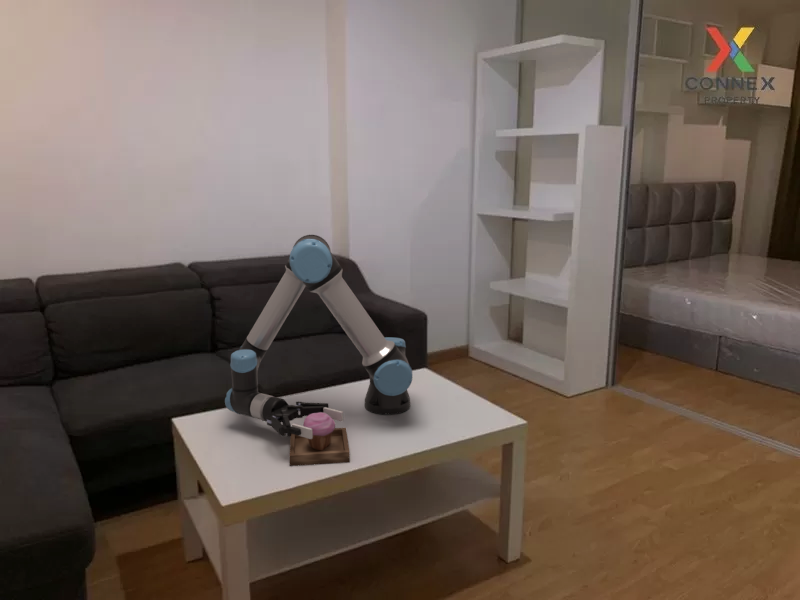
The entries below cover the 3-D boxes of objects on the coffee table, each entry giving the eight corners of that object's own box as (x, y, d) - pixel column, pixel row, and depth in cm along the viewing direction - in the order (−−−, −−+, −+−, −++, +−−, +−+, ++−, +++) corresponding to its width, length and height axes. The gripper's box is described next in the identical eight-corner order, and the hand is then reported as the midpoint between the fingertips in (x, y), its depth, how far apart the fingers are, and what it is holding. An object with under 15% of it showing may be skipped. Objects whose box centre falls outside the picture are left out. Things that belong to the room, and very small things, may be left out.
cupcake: (324, 456, 175) (323, 422, 173) (297, 450, 179) (296, 416, 176) (340, 443, 183) (340, 410, 181) (315, 437, 186) (314, 405, 184)
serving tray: (346, 436, 190) (345, 427, 189) (349, 462, 174) (349, 452, 173) (291, 440, 187) (290, 430, 187) (289, 466, 172) (289, 455, 171)
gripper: (298, 407, 199) (354, 422, 188) (239, 436, 179) (298, 455, 168) (297, 384, 198) (353, 398, 187) (237, 411, 177) (297, 428, 166)
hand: (327, 425), depth 177 cm, fingers open, 13 cm apart
